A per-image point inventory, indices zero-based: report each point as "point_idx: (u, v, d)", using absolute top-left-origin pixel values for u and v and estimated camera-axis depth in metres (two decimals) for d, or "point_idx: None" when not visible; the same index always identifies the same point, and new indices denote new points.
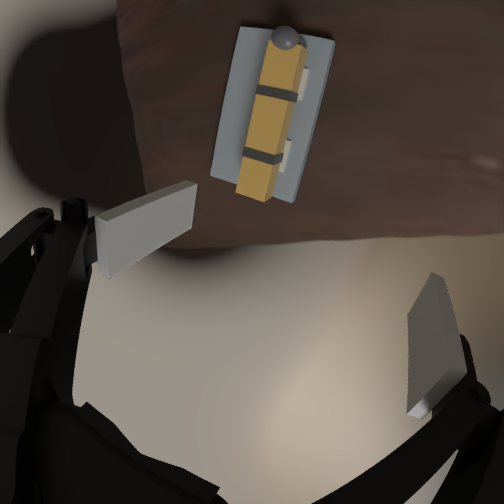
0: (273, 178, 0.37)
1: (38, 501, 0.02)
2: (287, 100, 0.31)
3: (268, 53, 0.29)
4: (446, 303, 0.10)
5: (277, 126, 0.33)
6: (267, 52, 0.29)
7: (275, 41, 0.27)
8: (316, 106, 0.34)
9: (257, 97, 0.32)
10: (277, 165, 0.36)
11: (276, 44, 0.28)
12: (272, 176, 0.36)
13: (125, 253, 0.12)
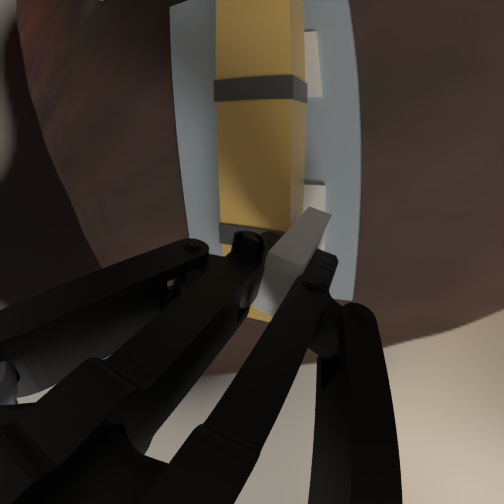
0: None
1: None
2: (289, 98, 0.13)
3: (221, 11, 0.12)
4: (318, 227, 0.14)
5: (280, 164, 0.14)
6: (219, 10, 0.12)
7: None
8: (356, 100, 0.15)
9: (220, 109, 0.14)
10: None
11: None
12: None
13: None
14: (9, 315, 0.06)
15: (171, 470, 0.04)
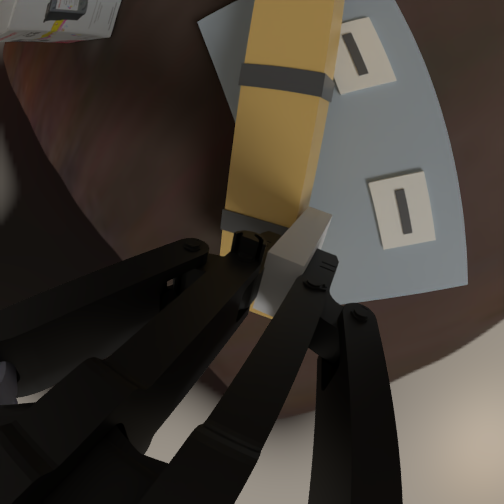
0: None
1: None
2: (317, 95, 0.12)
3: None
4: (318, 227, 0.14)
5: (296, 160, 0.14)
6: None
7: None
8: (428, 78, 0.13)
9: (244, 93, 0.14)
10: None
11: None
12: None
13: None
14: (9, 315, 0.06)
15: (171, 470, 0.04)
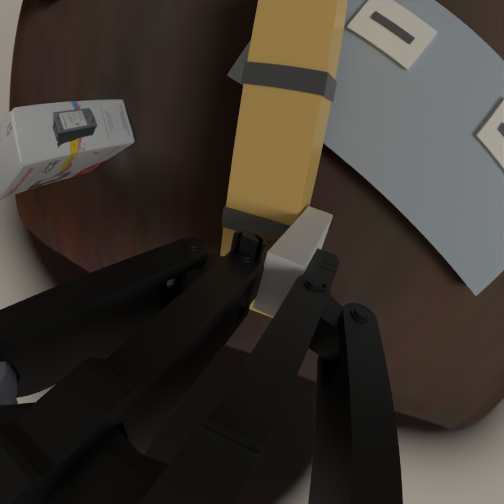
0: None
1: None
2: (320, 94, 0.12)
3: None
4: (318, 227, 0.14)
5: (298, 158, 0.14)
6: None
7: None
8: (454, 17, 0.10)
9: (246, 91, 0.14)
10: None
11: None
12: None
13: None
14: (9, 315, 0.06)
15: (171, 470, 0.04)
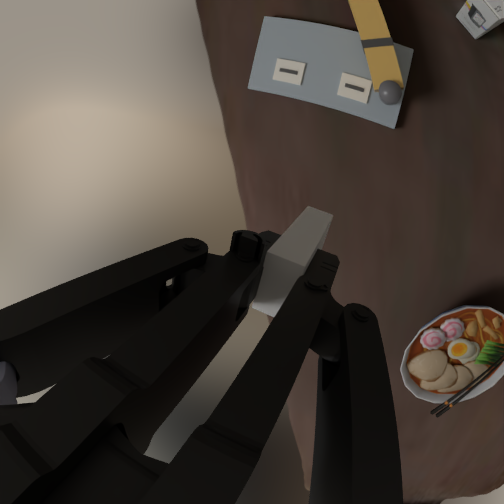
0: None
1: None
2: (362, 40, 0.29)
3: (398, 74, 0.29)
4: (319, 227, 0.14)
5: (359, 18, 0.28)
6: (399, 75, 0.29)
7: (395, 85, 0.30)
8: (332, 107, 0.39)
9: (388, 34, 0.27)
10: None
11: (393, 82, 0.29)
12: None
13: None
14: (9, 315, 0.06)
15: (172, 470, 0.04)
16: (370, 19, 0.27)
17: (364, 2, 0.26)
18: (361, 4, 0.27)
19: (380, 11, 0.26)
